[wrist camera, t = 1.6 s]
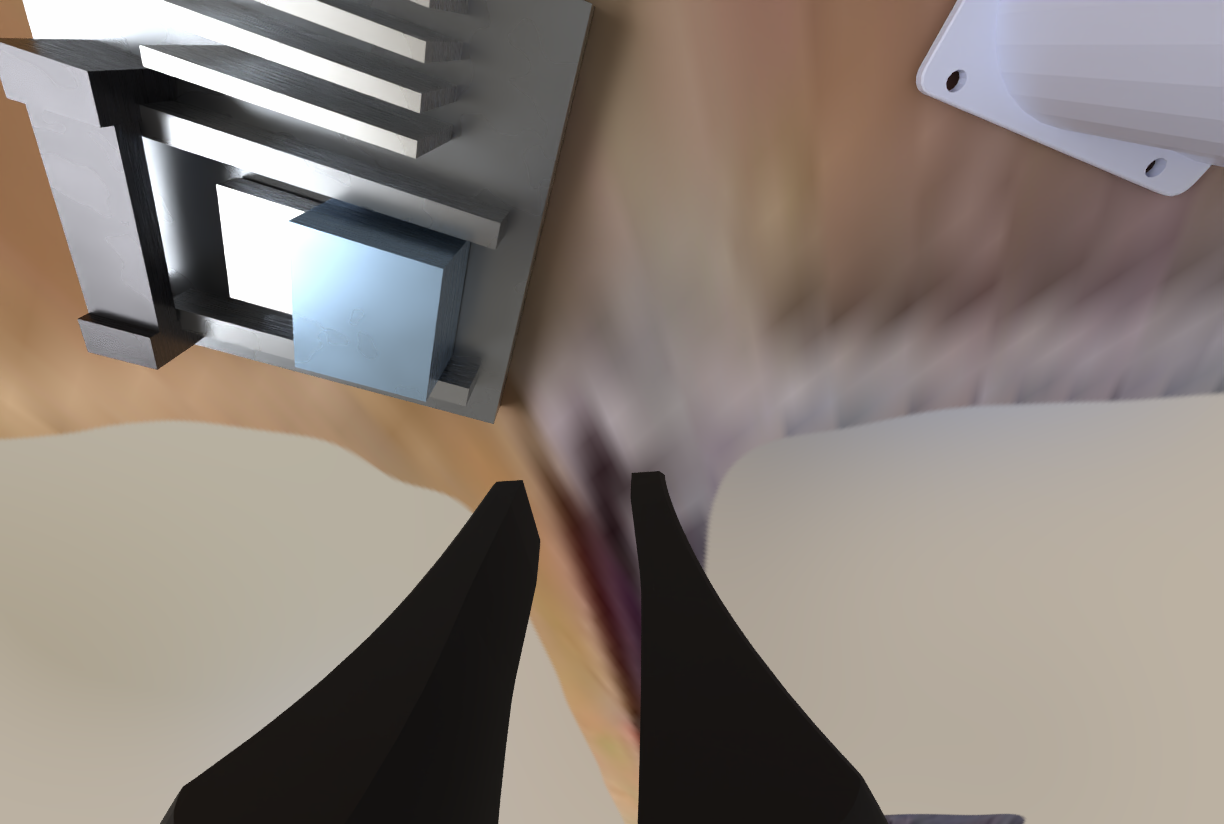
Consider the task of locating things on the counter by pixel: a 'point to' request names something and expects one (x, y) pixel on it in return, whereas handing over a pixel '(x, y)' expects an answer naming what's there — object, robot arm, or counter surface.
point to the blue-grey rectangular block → (347, 284)
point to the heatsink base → (295, 152)
